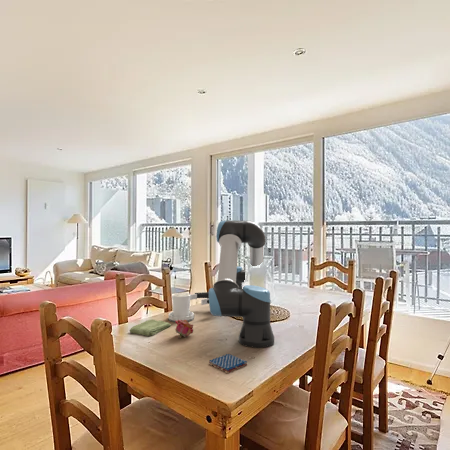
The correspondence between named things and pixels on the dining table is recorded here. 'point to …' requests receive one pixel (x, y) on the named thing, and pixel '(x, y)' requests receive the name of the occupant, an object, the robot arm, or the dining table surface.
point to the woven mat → (228, 363)
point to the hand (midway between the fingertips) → (194, 300)
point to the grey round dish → (188, 318)
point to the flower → (183, 328)
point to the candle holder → (181, 304)
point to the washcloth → (149, 327)
